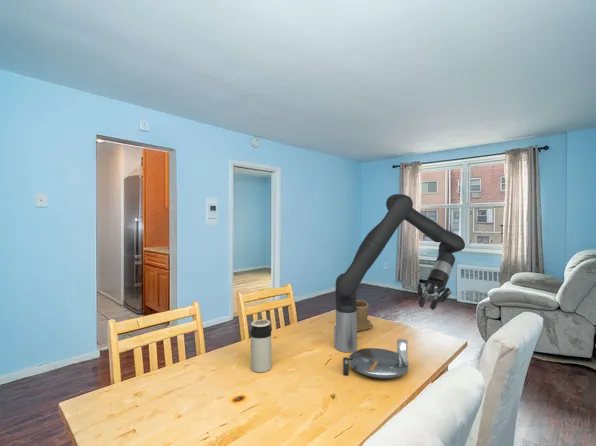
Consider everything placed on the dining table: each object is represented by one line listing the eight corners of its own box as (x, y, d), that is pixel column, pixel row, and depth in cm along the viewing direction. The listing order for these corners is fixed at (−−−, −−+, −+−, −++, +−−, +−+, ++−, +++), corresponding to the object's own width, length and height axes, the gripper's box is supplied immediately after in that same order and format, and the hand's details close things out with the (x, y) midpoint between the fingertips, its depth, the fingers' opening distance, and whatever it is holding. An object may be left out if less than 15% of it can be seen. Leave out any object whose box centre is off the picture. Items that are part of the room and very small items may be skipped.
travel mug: (275, 367, 125) (275, 322, 124) (260, 375, 119) (259, 327, 118) (262, 361, 130) (262, 317, 130) (246, 368, 124) (246, 322, 124)
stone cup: (355, 335, 158) (355, 305, 157) (341, 328, 168) (341, 300, 168) (379, 330, 164) (379, 301, 164) (365, 323, 175) (364, 296, 175)
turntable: (337, 362, 124) (337, 335, 123) (371, 347, 138) (371, 323, 138) (386, 385, 107) (386, 354, 107) (419, 364, 121) (419, 337, 121)
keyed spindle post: (342, 374, 119) (342, 358, 119) (373, 359, 131) (373, 344, 131) (370, 387, 109) (370, 370, 109) (400, 370, 122) (400, 354, 122)
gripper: (421, 266, 140) (406, 298, 132) (454, 270, 129) (440, 305, 121) (427, 277, 143) (413, 309, 136) (459, 281, 132) (446, 316, 125)
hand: (426, 307), depth 128 cm, fingers open, 4 cm apart
